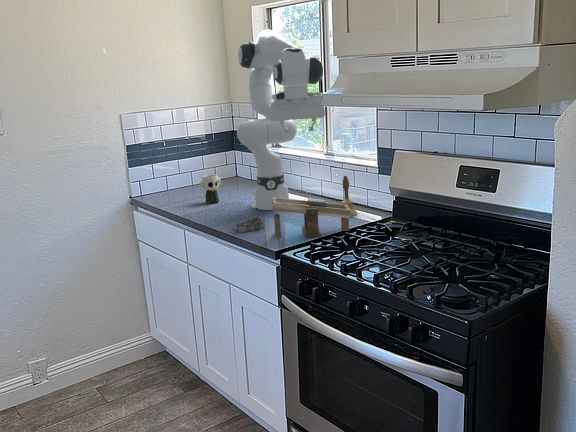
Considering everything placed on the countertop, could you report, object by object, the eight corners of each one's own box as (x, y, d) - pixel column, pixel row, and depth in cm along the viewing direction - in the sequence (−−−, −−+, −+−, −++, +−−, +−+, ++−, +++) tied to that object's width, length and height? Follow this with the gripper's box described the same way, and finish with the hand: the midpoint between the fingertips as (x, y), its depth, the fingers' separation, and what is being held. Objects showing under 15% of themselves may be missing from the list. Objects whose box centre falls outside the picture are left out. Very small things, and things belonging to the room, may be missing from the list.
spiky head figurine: (205, 205, 272) (203, 178, 269) (198, 203, 278) (195, 176, 275) (226, 201, 278) (223, 174, 275) (218, 199, 284) (216, 173, 281)
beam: (271, 205, 218) (272, 197, 217) (345, 212, 220) (346, 204, 220) (272, 210, 209) (273, 202, 209) (349, 218, 212) (350, 210, 211)
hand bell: (349, 217, 234) (348, 178, 230) (333, 215, 240) (331, 176, 236) (361, 213, 240) (360, 174, 236) (345, 210, 246) (343, 173, 242)
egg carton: (260, 225, 234) (259, 215, 233) (265, 229, 227) (265, 219, 226) (234, 228, 230) (233, 218, 229) (239, 233, 223) (238, 223, 222)
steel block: (307, 207, 217) (308, 197, 216) (323, 208, 218) (324, 199, 217) (308, 210, 212) (309, 200, 211) (324, 211, 213) (325, 202, 212)
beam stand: (274, 230, 223) (272, 203, 221) (344, 224, 224) (343, 197, 222) (276, 240, 209) (274, 212, 207) (351, 234, 210) (349, 206, 208)
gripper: (323, 91, 216) (325, 129, 219) (268, 95, 215) (271, 133, 218) (325, 91, 210) (327, 130, 213) (268, 95, 209) (271, 134, 212)
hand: (298, 132), depth 215 cm, fingers open, 8 cm apart
